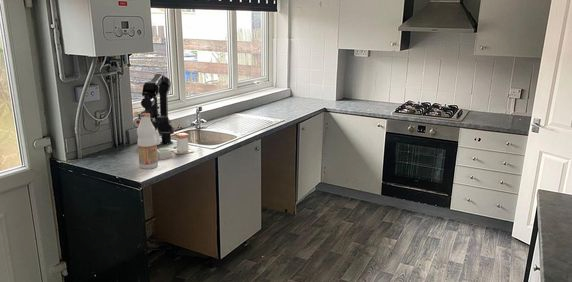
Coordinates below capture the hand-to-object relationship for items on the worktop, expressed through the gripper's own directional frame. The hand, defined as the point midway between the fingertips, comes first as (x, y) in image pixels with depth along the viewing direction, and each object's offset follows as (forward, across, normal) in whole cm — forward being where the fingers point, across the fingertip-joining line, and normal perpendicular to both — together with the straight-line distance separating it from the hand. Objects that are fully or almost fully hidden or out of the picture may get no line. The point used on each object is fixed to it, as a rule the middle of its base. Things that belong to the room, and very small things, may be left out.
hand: (154, 132), depth 241 cm
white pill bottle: (+12, +8, +13) cm, 20 cm away
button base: (+13, +7, 0) cm, 15 cm away
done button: (+11, +7, 0) cm, 13 cm away
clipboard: (+13, +6, +14) cm, 20 cm away
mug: (+12, -13, +11) cm, 21 cm away
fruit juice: (+13, +14, -16) cm, 24 cm away
